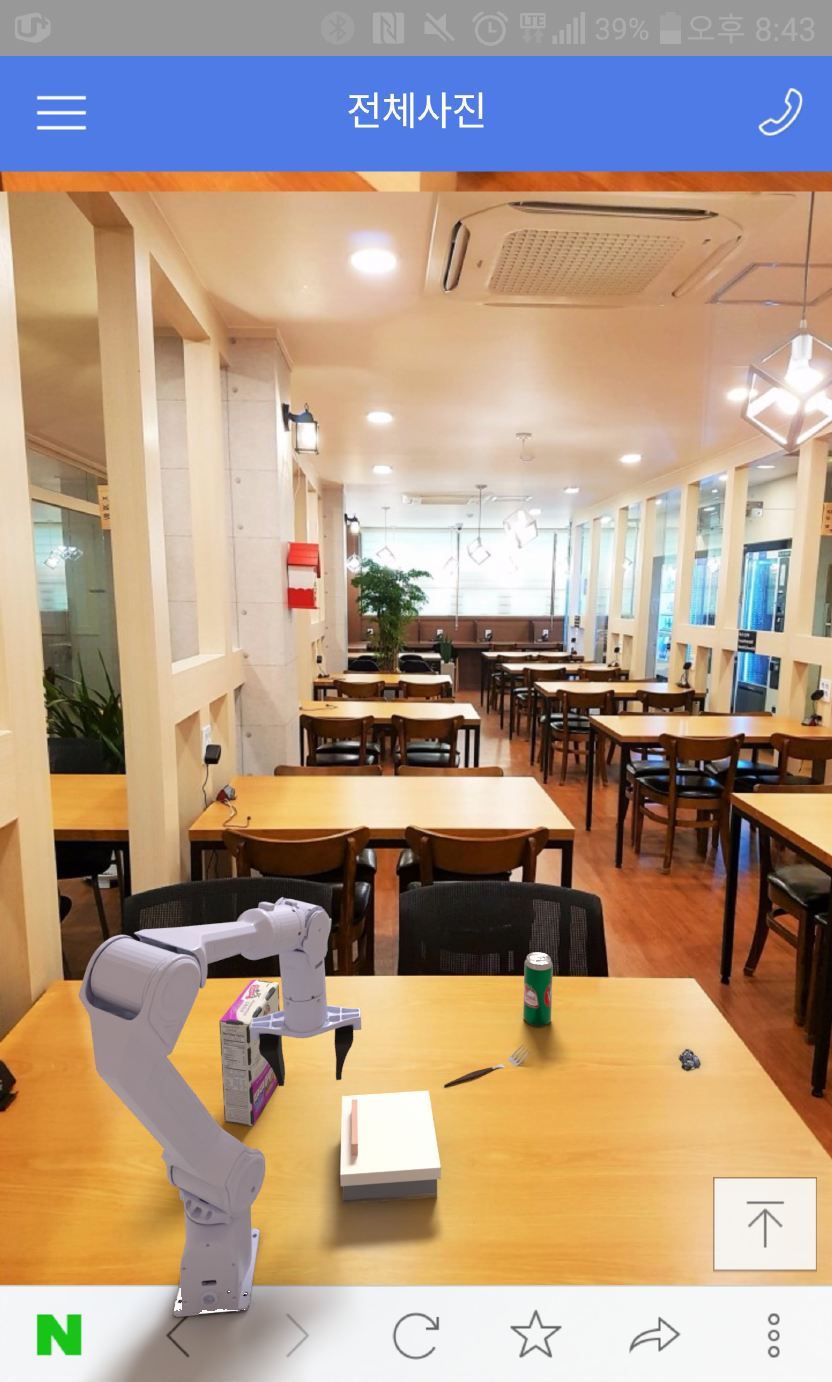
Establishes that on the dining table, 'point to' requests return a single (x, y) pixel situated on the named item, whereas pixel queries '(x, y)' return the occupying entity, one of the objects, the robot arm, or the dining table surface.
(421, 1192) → the mailer tray
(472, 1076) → the fork
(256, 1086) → the candy bar box
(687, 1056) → the blueberries
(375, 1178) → the lid
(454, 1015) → the dining table surface
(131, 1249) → the dining table surface
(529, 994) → the soda can
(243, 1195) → the robot arm
